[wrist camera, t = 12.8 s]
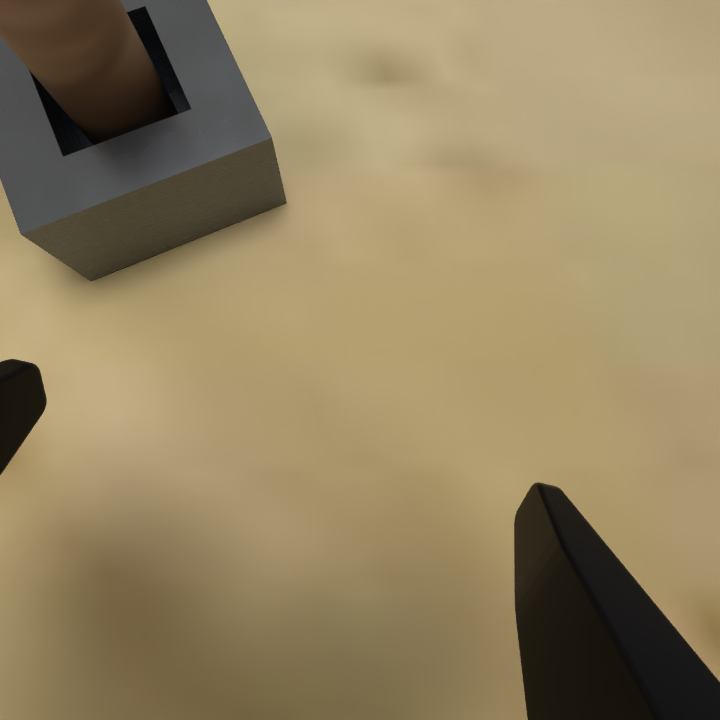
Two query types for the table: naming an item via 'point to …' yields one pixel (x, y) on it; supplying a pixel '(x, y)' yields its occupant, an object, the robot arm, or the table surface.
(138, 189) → the bore block
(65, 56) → the walnut pin
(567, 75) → the table surface
